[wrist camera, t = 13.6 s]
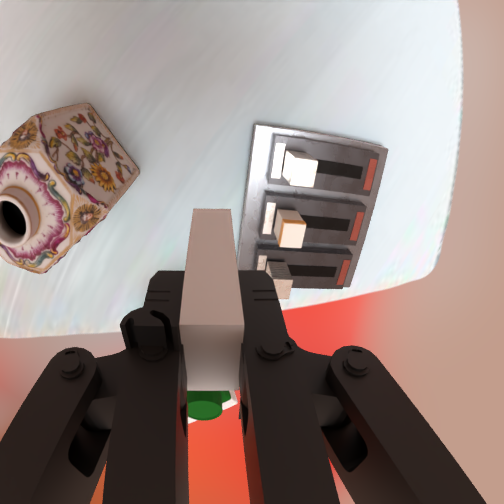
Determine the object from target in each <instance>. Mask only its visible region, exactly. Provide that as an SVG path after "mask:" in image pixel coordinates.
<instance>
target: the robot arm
mask: <svg viewBox="0 0 504 504" xmlns="http://www.w3.org/2000/svg"><path fill="white" fill-rule="evenodd" d="M120 328H121V331H122V335H123V339H124V342H125V346H126V349H125V350H123V351H121V352H119V353H116V354H113V355H108V356H104V357H98V358H94V356H93V355H92V353H91V352H89V351H87V350H86V349H84V348H78V347H72V348H67V349H64V350H62V351H61V352H59V353H57V354H56V355H55V356H54V357H53V358H52V359H51V360H50V362H49V363H48V365H47V366H46V368H45V369H44V371H43V372H42V374H41V376H40V377H39V378H38V380H37V382H36V383H35V385H34V386H33V388H32V389H31V391H30V393H29V394H28V396H27V397H26V399H25V401H24V402H23V404H22V405H21V407H20V409H19V410H18V412H17V414H16V415H15V417H14V419H13V420H12V422H11V424H10V426H9V427H8V429H7V431H6V433H5V434H4V436H3V438H2V440H1V442H0V504H90V501H91V498H92V496H93V493H94V491H95V488H96V486H97V484H98V481H99V478H100V476H101V474H102V471H103V468H104V466H105V464H106V472H105V481H104V491H103V503H102V504H189V483H188V403H187V391H227V390H239V386H240V396H241V398H240V409H239V410H240V411H239V419H241V424H242V433H243V443H244V452H245V462H246V471H247V480H248V487H249V497H250V504H340V502H339V498H338V494H337V490H336V486H335V482H334V478H333V474H332V470H331V466H330V463H329V459H330V461H331V463H332V465H333V466H334V468H335V470H336V472H337V473H338V475H339V477H340V478H341V480H342V482H343V484H344V485H345V487H346V489H347V491H348V492H349V494H350V495H351V497H352V499H353V501H354V502H355V504H486V502H485V501H484V499H483V498H482V497H481V495H480V494H479V492H478V491H477V489H476V488H475V487H474V485H473V484H472V482H471V481H470V480H469V478H468V477H467V476H466V474H465V473H464V471H463V470H462V469H461V467H460V466H459V464H458V463H457V462H456V460H455V459H454V457H453V456H452V455H451V453H450V452H449V451H448V450H447V448H446V447H445V445H444V444H443V443H442V441H441V440H440V439H439V437H438V436H437V435H436V433H435V432H434V431H433V429H432V428H431V427H430V425H429V424H428V423H427V421H426V420H425V419H424V417H423V416H422V415H421V413H420V412H419V411H418V409H417V408H416V407H415V405H414V404H413V403H412V402H411V400H410V399H409V398H408V397H407V395H406V394H405V393H404V391H403V390H402V389H401V387H400V386H399V385H398V384H397V382H396V381H395V380H394V378H393V377H392V376H391V375H390V373H389V372H388V371H387V370H386V368H385V367H384V366H383V364H382V363H381V362H380V361H379V359H378V358H377V357H376V356H375V355H374V354H373V353H372V352H370V351H369V350H366V349H364V348H362V347H358V346H344V347H341V348H340V349H338V350H336V351H335V352H334V354H333V355H332V356H327V355H321V354H316V353H311V352H308V351H305V350H303V349H301V348H299V347H298V346H297V344H296V343H295V341H294V340H293V339H291V338H290V337H289V335H288V333H287V329H286V325H285V322H284V318H283V315H282V310H281V307H280V303H279V301H278V295H277V292H276V288H275V284H274V281H273V279H272V278H271V276H270V275H269V274H268V273H267V272H266V271H265V270H238V269H237V260H236V252H235V243H234V235H233V226H232V217H231V209H193V215H192V222H191V229H190V236H189V244H188V251H187V259H186V267H185V271H158V272H157V273H156V274H155V275H154V276H153V277H152V278H151V279H150V282H149V286H148V290H147V294H146V298H145V302H144V306H143V307H142V308H139V309H136V310H133V311H131V312H130V313H129V314H127V315H126V316H125V317H124V318H123V320H122V321H121V323H120ZM328 458H329V459H328ZM106 461H107V463H106Z"/></svg>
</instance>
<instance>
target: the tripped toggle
mask: <svg viewBox="0 0 504 504" xmlns="http://www.w3.org/2000/svg"><path fill="white" fill-rule="evenodd" d="M305 229H306V223H305V221H303V219H302V218H301V216H300V214H299V213H298V211H292V210H281V209H277V215H276V221H275V226H274V233H275V235H276V238H277V240H278V245H279V247H288V248H301V247H302V243H303V238H304V233H305Z"/></svg>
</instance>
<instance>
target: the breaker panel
mask: <svg viewBox="0 0 504 504" xmlns="http://www.w3.org/2000/svg"><path fill="white" fill-rule="evenodd" d="M387 153H388V149H387V148H385V147H383V146H380V145H376V144H371V143H367V142H362V141H358V140H353V139H348V138H343V137H338V136H333V135H327V134H322V133H316V132H310V131H304V130H298V129H291V128H284V127H277V126H269V125H261V124H254V130H253V138H252V145H251V153H250V160H249V168H248V176H247V183H246V191H245V199H244V207H243V215H242V223H241V231H240V239H239V247H238V256H237V269H238V270H265V271H266V272H267V273H268V274H269V275H270V276H271V278H272V279H273V281H274V284H275V288H276V292H277V295H278V299H289V295H290V291H291V288H315V289H343V287H350V284H351V281H352V278H353V275H354V272H355V269H356V266H357V263H358V260H359V257H360V254H361V250H362V247H363V244H364V241H365V237H366V234H367V230H368V227H369V224H370V220H371V216H372V213H373V209H374V206H375V202H376V198H377V194H378V190H379V187H380V183H381V179H382V174H383V170H384V166H385V162H386V158H387ZM277 209H281V210H292V211H298V213H299V214H300V216H301V218H302V219H303V221H305V223H306V229H305V233H304V238H303V243H302V247H301V248H288V247H279V245H278V240H277V238H276V235H275V233H274V226H275V221H276V215H277Z"/></svg>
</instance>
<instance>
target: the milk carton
mask: <svg viewBox="0 0 504 504" xmlns="http://www.w3.org/2000/svg"><path fill="white" fill-rule="evenodd" d="M237 402H238V401H237V398H236V395H235V391H234V390H227V391H187V403H188V424H189V423H192V422H194V421H196V420H212V419H215V418H217V417H219V416H220V415H221V413H222V410H224V409H227V408H229V407H231V406H233V405H235V404H237Z"/></svg>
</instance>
